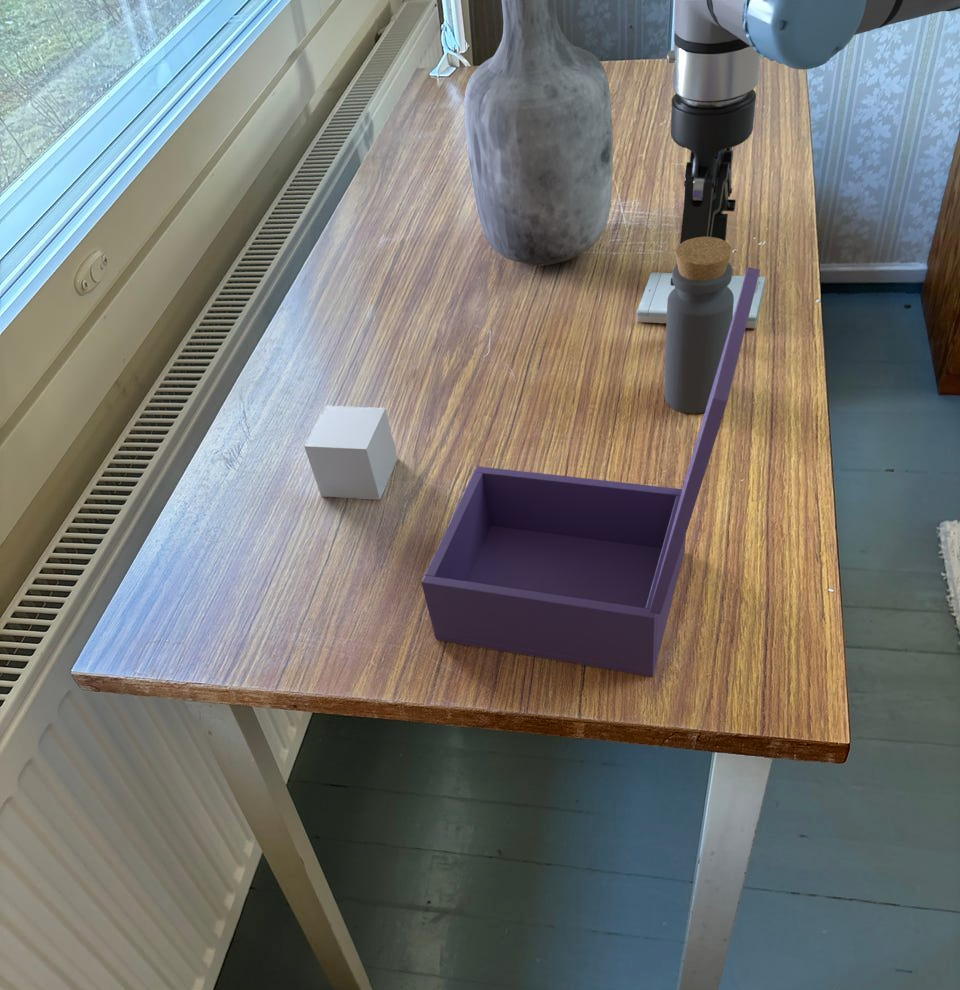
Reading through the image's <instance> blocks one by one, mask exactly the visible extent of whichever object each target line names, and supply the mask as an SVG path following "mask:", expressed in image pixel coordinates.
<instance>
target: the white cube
mask: <svg viewBox="0 0 960 990" xmlns="http://www.w3.org/2000/svg"><path fill="white" fill-rule="evenodd" d="M303 447H304V450H305V453H306V455H307V459H308V461H309V465H310V468H311V471H312V474H313V476H314V479H315V482H316V486H317V488H318V491H319V494H320V497H325V498H326V497H328V498H343V499H345V498H346V499H360V500H377V501H380V500H381V499H382V497H383V494H384V492H385V489H386V487H387V485H388V482H389V481H390V479H391V475H392V473H393V471H394V468H395V466H396V464H397V462H398V459H399V458H398V454H397V450H396V445H395V441H394V437H393V433H392V429H391V424H390V421H389V416H388V412H387V409H386V407H375V406H373V407H372V406H370V407H369V406H345V405H343V406H341V405H325V406H324V408H323V410H322V411H321V414H320V415H319V417H318V419H317V421H316V423H315V424H314V426H313V428H312V430H311V433H310V434H309V436H308V438H307V440H306V441H305V444H304V446H303Z"/></svg>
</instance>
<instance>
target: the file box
mask: <svg viewBox="0 0 960 990" xmlns="http://www.w3.org/2000/svg"><path fill="white" fill-rule="evenodd" d="M682 489H683V488H676V487H667V486H660V485H659V486H657V485H648V484H640V483H630V482H624V481H623V482H622V481H614V480H606V479H605V480H604V479H596V478H595V479H594V478H588V477H587V478H586V477H577V476H568V475H561V474H552V473H551V474H550V473H541V472H532V471H523V470H516V469H515V470H514V469H506V468H497V467H490V466H489V467H488V466H478V465H476V467H475V469H474V471H473V473H472V475H471V476H470V479H469V481H468V483H467V485H466V487H465V490H464V491H463V494H462V496H461V498H460V500H459V502H458V505H457V507H456V508H455V510H454V513H453V514H452V517H451V519H450V521H449V523H448V525H447V527H446V529H445V532H444V534H443V536H442V538H441V540H440V542H439V544H438V546H437V548H436V551H435V553H434V555H433V556H432V558H431V561H430V563H429V565H428V567H427V569H426V571H425V574H424V576H423V578H422V580H421V586H422V590H423V595H424V598H425V602H426V606H427V610H428V614H429V618H430V623H431V626H432V630H433V633H434V638H435V640H437V641H441V642H447V643H453V644H459V645H465V646H471V647H477V648H482V649H488V650H493V651H494V650H495V651H499V652H507V653H511V654H517V655H522V656H523V655H524V656H530V657H535V658H541V659H546V660H552V661H558V662H564V663H569V664H575V665H576V664H577V665H582V666H589V667H593V668H599V669H606V670H611V671H617V672H623V673H627V674H634V675H640V676H647V677H651V678H653V677H654V674H655V671H656V667H657V663H658V659H659V655H660V652H661V651H660V650H661V647H662V644H663V639H664V634H665V630H666V627H667V624H668V619H669V615H670V611H671V607H672V604H673V599H674V596H675V592H676V588H677V584H678V580H679V576H680V572H681V568H682V564H683V560H684V556H685V553H686V541H687V538H686V537H687V534H686V535H685V538H684V541H683V545H682V548H681V551H680V554H679V557H678V561H677V564H676V567H675V570H674V573H673V576H672V580H671V583H670V586H669V589H668V592H667V596H666V599H665V602H664V605H663V608H662V611H661V614H660V615H659V614H655V613H652V612H650V607H651V603H652V600H653V596H654V592H655V589H656V585H657V581H658V577H659V574H660V570H661V566H662V563H663V559H664V555H665V552H666V548H667V544H668V541H669V537H670V533H671V530H672V526H673V522H674V519H675V515H676V511H677V507H678V504H679V500H680V496H681V493H682Z"/></svg>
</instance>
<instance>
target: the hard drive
mask: <svg viewBox="0 0 960 990" xmlns="http://www.w3.org/2000/svg"><path fill="white" fill-rule="evenodd" d="M744 277H745V275H732V279H731V282H730V283H729V285H728V286H727V287H728V288H729V289H730V290H731V291H732V293H733V296H734V304H733V315H734V312H735V308H736V305H737V301H738V298H739V294H740V291H741V288H742V284H743V281H744ZM671 278H672V272H651V273H650V275H649V278H648V280H647V283H646V285H645V288H644V292H643V294H642V297H641V300H640V303H639V304H638V309H637V311H636V322H637V323H651V324H653V323H654V324H666V323H667V301H668V296H669V294H670V293H671V291H672V290H673V289H674V288H675V286H671ZM766 280H767V277H766V276H759V277H758V281H757V285H756V289H755V293H754V297H753V301H752V305H751V309H750V313H749V317H748V321H747V325H746V329H757V325H758V320H759V315H760V311H761V307H762V303H763V298H764V293H765V289H766V282H767V281H766ZM732 318H733V317H732Z"/></svg>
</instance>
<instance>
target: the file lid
mask: <svg viewBox="0 0 960 990" xmlns="http://www.w3.org/2000/svg"><path fill="white" fill-rule="evenodd" d="M760 273H761V269H760V268H755V267H749V266H748V267H747V268H746V270H745V274H744V276H745V277H744V281H743V284H742V288H741V291H740V294H739V298H738V301H737V305H736V308H735V312H734V315H733V318H732V322H731V325H730V329H729V332H728V335H727V339H726V342H725V346H724V349H723V352H722V356H721V359H720V363H719V366H718V369H717V373H716V376H715V380H714V383H713V386H712V390H711V393H710V397H709V400H708V403H707V407H706V410H705V412H704V413H703V417H702V420H701V424H700V427H699V431H698V434H697V438H696V441H695V445H694V448H693V452H692V455H691V458H690V462H689V465H688V469H687V472H686V476H685V479H684V482H683V486H682V488H681V489H682V493H681V496H680V500H679V504H678V507H677V511H676V515H675V519H674V522H673V526H672V530H671V533H670V537H669V541H668V544H667V548H666V552H665V555H664V559H663V563H662V566H661V570H660V574H659V577H658V581H657V585H656V589H655V592H654V596H653V600H652V603H651V607H650V612H652V613H655V614H659V615H660V614H661V611H662V608H663V605H664V602H665V599H666V596H667V592H668V589H669V586H670V583H671V580H672V576H673V573H674V570H675V567H676V564H677V561H678V557H679V554H680V551H681V548H682V545H683V541H684V538H685V535H686V536H687V532H688V529H689V525H690V522H691V520H692V516H693V513H694V509H695V506H696V503H697V500H698V497H699V493H700V490H701V488H702V484H703V481H704V478H705V474H706V472H707V468H708V465H709V461H710V458H711V456H712V452H713V450H714V449H713V448H714V446H715V442H716V440H717V437H718V433H719V430H720V427H721V423H722V420H723V418H724V414H725V411H726V408H727V405H728V401H729V396H730V394H731V390H732V386H733V381H734V377H735V373H736V369H737V365H738V361H739V357H740V353H741V349H742V344H743V340H744V336H745V333H746V329H747V328H746V325H747V321H748V317H749V313H750V309H751V305H752V301H753V297H754V293H755V289H756V285H757V281H758V277H760Z"/></svg>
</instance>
